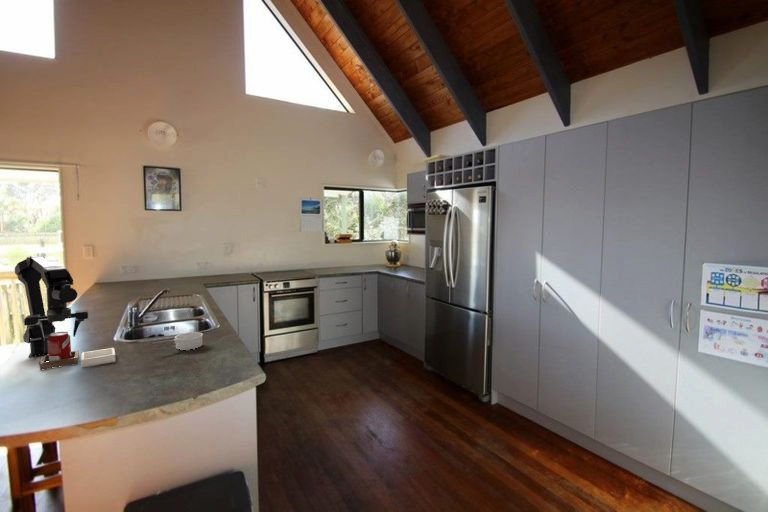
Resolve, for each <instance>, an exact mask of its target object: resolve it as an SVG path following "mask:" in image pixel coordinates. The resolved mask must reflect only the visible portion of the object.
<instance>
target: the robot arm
mask: <svg viewBox="0 0 768 512" xmlns="http://www.w3.org/2000/svg"><path fill="white" fill-rule="evenodd" d="M14 273H15V275H16V276H17V280H18V281H20V282H21V283H22V284H23V285H24V289H25V290H24V291H25V294H26V300H27V307H28V312H29V315H26V316H25V318H24V320H23V325H24V326H26V329H25V331H24V334H23V336H22V337H23V338H22V339H23V342H24V343H27V344H29V347H30V348H29V349H30V353H29V355H28V358H35V356H36V357H41V355H42V356H45V355H49V354H48V338H49V337H50V334H52V333H56V327H55V325H54V324H53V323H56V322H64V321H65V320H66V319H67V320H68V319H73V318H74V326H73V334H72V336H73V337H76V334H77V331H78V328H79V325H80V324H81V323H82V322H84V321H85V320H86V319H87V320H88V319H89V310H87V309H80V310H75V312H73V313H72V307H68V303H72V302H74V301H75V300H76V299H77V298H78V291H77V290H76V289H75V288H73V287H72V286H74V278H73V276H72V274H71V273H70V271H69V270H68V269H67V268H66V267H64V266H61V265H60V266H57V265H55V264H53V263H51V262H50V261H49V260H47V259H46V257H45V256H43V255H30V256H27V257H26V258H25V259H23V260H21V261H18V262H17V263H16V265H15V267H14ZM41 280H42V282H43V283H44V285H45V288H46V304H47V305H46V306H47V310H45V307H44V306H45V305H44V299H43V294H42V289H41V284H40V282H41ZM45 311H46V312H45Z"/></svg>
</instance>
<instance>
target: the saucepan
mask: <svg viewBox="0 0 768 512" xmlns="http://www.w3.org/2000/svg"><path fill="white" fill-rule="evenodd" d="M203 336H204V333H202V332H198V331H197V332H195V331H194V332H193V331H192V332H191V331H190V332H184V333H180V334H177V335H175V336H174V339H171V340H170V339H168V340H167V339H166V340H160V341H154V342H152V345H153V346H154V345H161V344H170V345H174V344H175V348H176V350H179V349H180V350H179V351H183V350H186V351H191V350H190V349H193V350H196V349H195V348H197V349H199V348H200V347H201V346H203ZM198 347H199V348H198Z"/></svg>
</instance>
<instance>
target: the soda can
mask: <svg viewBox="0 0 768 512" xmlns="http://www.w3.org/2000/svg"><path fill="white" fill-rule="evenodd" d="M71 351H72V343H71V335H70V334H69V332H68V331H57V332H56V331H55V333H52V334H50V337H49V338H48V354H49V362H50V361H56V360H62V359H69V358H71Z"/></svg>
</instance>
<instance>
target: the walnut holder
mask: <svg viewBox="0 0 768 512" xmlns="http://www.w3.org/2000/svg"><path fill="white" fill-rule="evenodd" d="M74 357H75V358H74ZM79 357H80V353H79V350H71V358H69V359H62V360H56V361H50V362H46V361H49V355H42V357H41V360H40V362H39V371H43V370H42V369H45V370H48V369H47V368H51V369H53V368H52V367H57V368H60V367H59V366H63V367H67V366H66V365H69V366H74V365H79ZM73 364H74V365H73Z"/></svg>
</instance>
